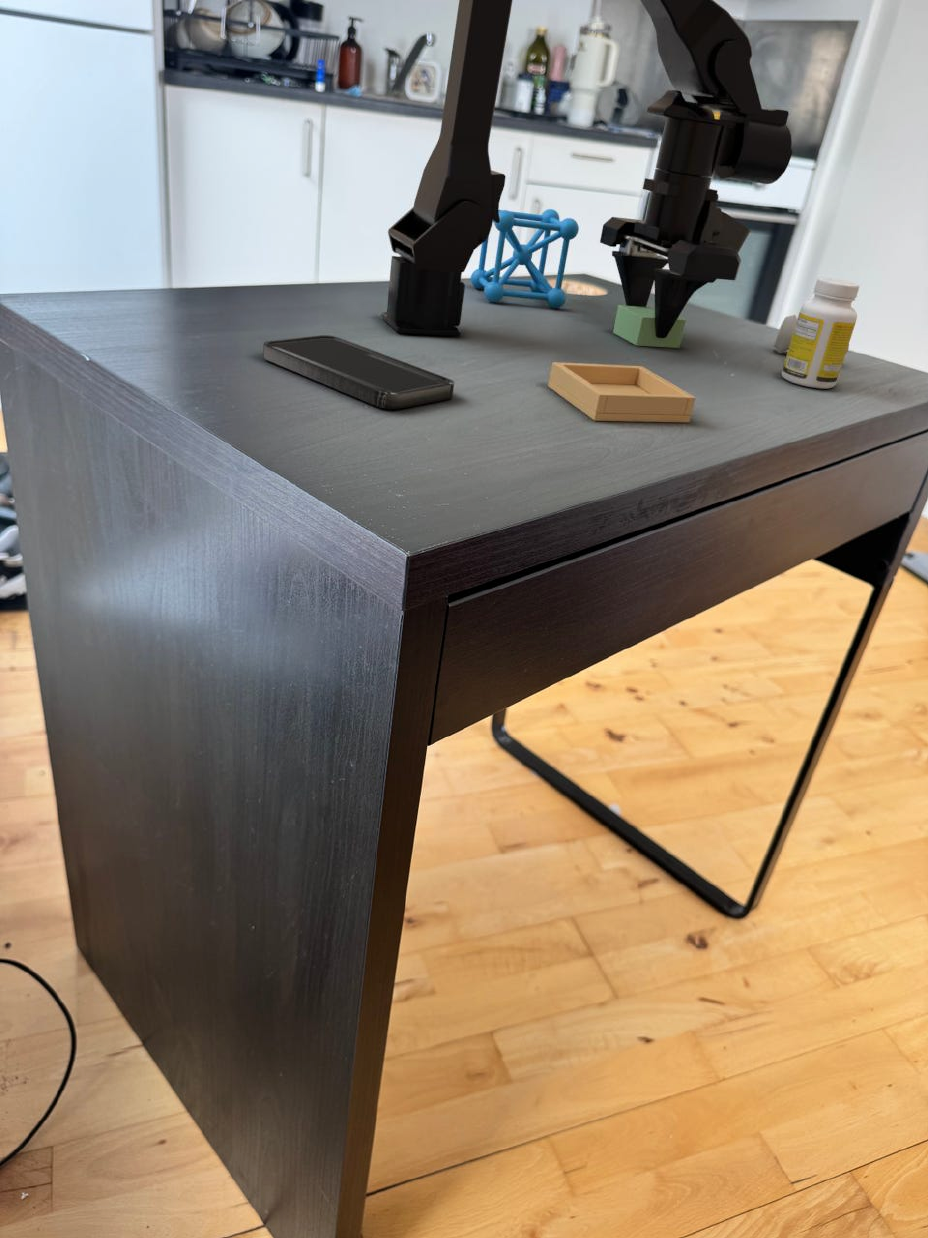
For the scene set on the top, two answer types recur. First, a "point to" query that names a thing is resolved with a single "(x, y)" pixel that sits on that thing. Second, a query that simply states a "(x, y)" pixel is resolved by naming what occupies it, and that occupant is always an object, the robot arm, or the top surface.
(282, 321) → the top surface
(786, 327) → the smooth white sculpture
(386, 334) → the top surface
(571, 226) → the molecular structure
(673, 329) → the green pad
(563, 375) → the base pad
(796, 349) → the supplement bottle
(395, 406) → the phone
